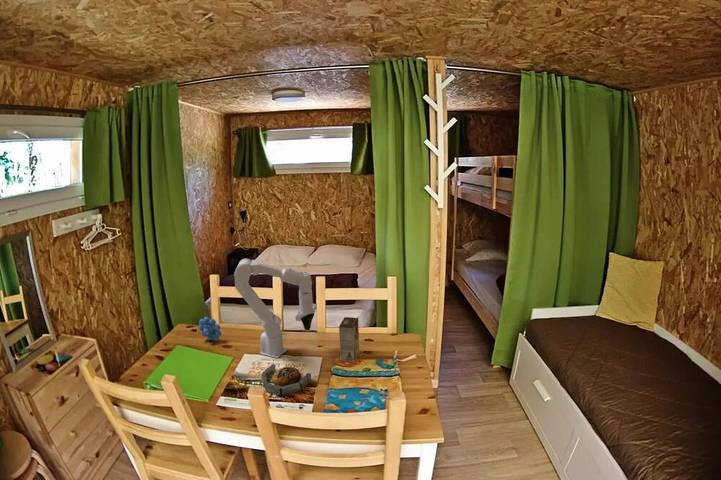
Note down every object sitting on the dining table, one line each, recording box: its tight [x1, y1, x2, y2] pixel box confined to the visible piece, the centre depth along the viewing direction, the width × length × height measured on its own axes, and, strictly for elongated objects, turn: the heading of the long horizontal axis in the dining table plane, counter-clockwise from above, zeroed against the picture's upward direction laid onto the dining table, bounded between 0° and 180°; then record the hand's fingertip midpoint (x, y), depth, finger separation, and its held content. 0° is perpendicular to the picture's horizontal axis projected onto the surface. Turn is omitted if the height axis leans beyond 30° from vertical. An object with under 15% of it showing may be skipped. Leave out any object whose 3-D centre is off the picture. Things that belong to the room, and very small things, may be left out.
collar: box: [260, 364, 312, 396], centre depth 131 cm, size 18×12×2 cm
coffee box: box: [338, 316, 360, 363], centre depth 148 cm, size 9×6×16 cm
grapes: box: [198, 316, 223, 342], centre depth 163 cm, size 12×7×12 cm, turn 77°
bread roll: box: [271, 366, 302, 387], centre depth 134 cm, size 11×11×5 cm
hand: (307, 329), depth 154 cm, fingers closed
